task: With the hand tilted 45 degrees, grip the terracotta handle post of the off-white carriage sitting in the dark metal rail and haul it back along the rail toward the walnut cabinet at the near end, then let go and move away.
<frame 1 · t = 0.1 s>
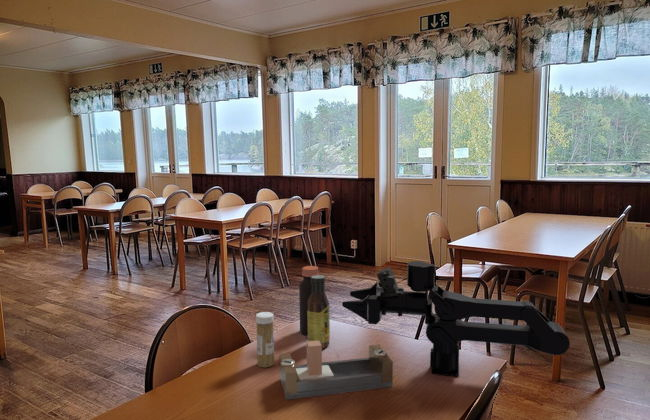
hand: (346, 298, 125), 17 cm above the table, tool horizontal, fingers open, 9 cm apart
rail: (337, 382, 114), on the table
sprinkles bottle: (265, 364, 124), on the table
vinegar: (311, 332, 146), on the table
carriage: (314, 361, 112), point 6 cm above the table, slide at 0.0 cm
sauce bottle: (318, 345, 136), on the table
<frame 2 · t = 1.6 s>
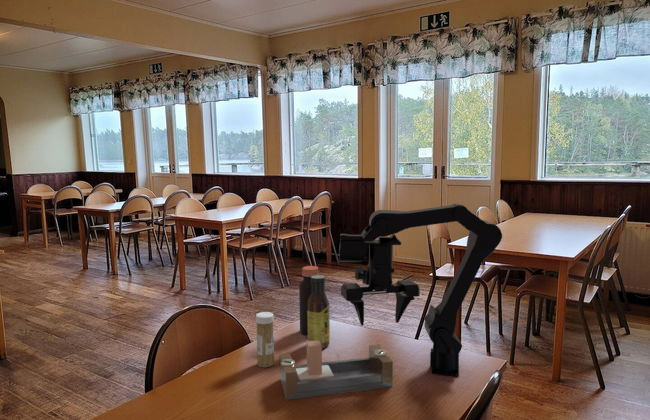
hand: (379, 323, 119), 12 cm above the table, tool pointing down, fingers open, 9 cm apart
nothing on the table moved.
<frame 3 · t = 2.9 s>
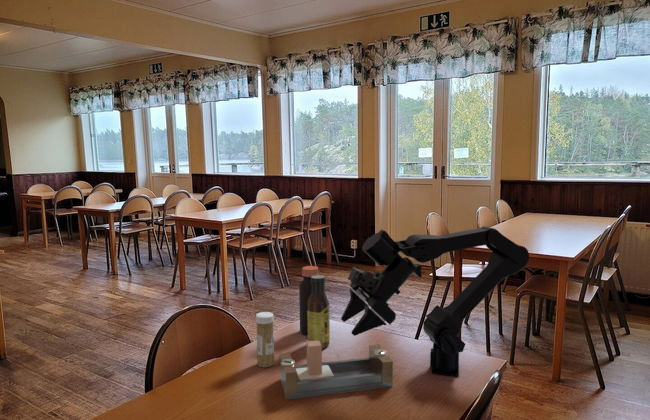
hand: (347, 327, 113), 13 cm above the table, tool tilted 45°, fingers open, 9 cm apart
nothing on the table moved.
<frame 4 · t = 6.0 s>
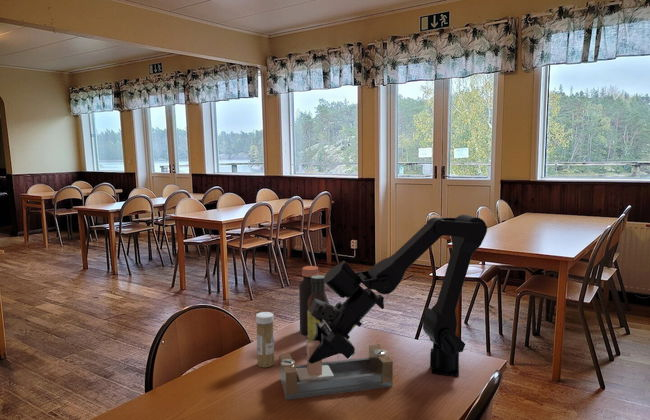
hand: (308, 359, 112), 7 cm above the table, tool tilted 45°, fingers closed on carriage, 3 cm apart
carriage: (314, 361, 112), point 6 cm above the table, slide at 0.0 cm, touching gripper
everything else where it was.
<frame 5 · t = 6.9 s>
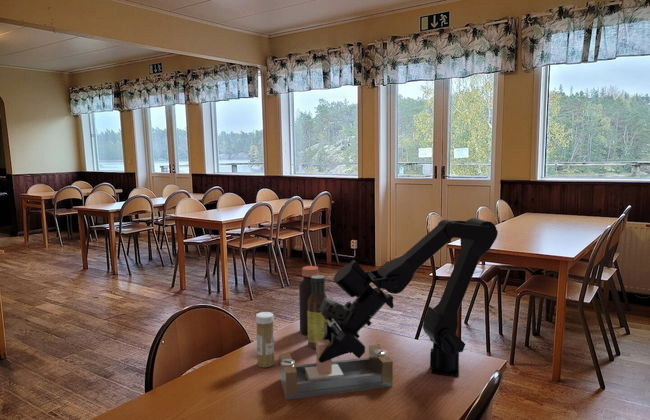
hand: (318, 358, 112), 7 cm above the table, tool tilted 45°, fingers closed on carriage, 3 cm apart
carriage: (323, 360, 113), point 6 cm above the table, slide at 2.3 cm, touching gripper
everything else where it was.
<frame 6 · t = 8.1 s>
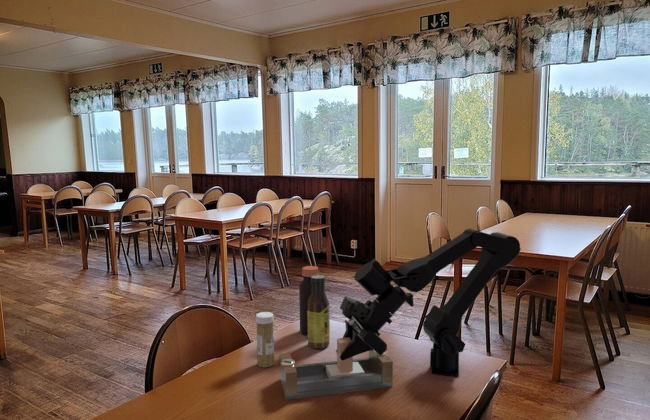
hand: (339, 356, 114), 7 cm above the table, tool tilted 45°, fingers closed on carriage, 3 cm apart
carriage: (344, 358, 114), point 6 cm above the table, slide at 7.4 cm, touching gripper
everything else where it was.
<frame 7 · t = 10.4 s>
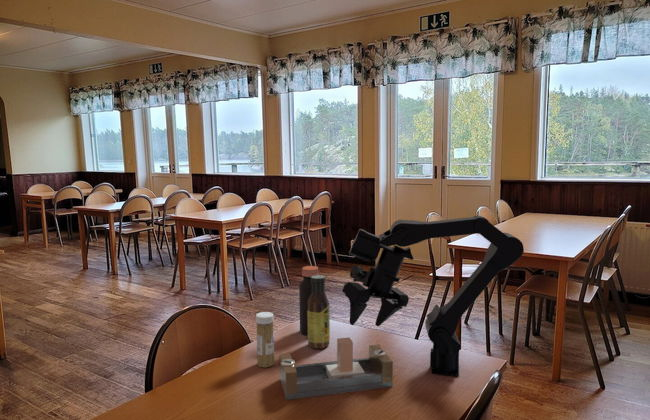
hand: (364, 324, 121), 11 cm above the table, tool tilted 20°, fingers open, 9 cm apart
carriage: (344, 358, 114), point 6 cm above the table, slide at 7.4 cm
everything else where it was.
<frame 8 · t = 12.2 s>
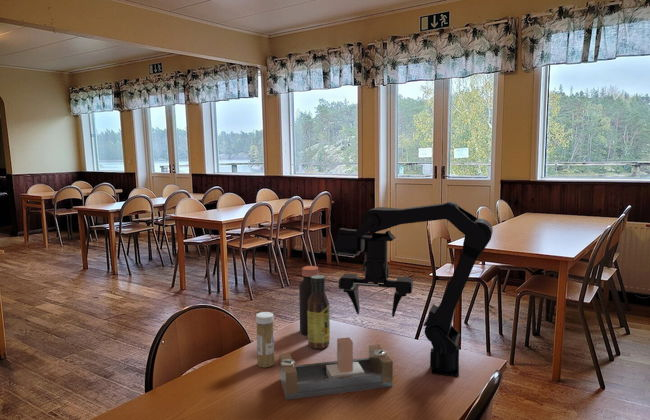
hand: (375, 315, 126), 12 cm above the table, tool pointing down, fingers open, 9 cm apart
nothing on the table moved.
at the end: carriage slide at 7.4 cm; the gripper is holding nothing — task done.
